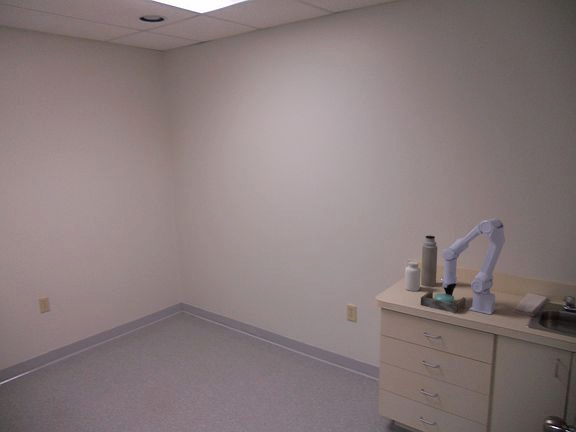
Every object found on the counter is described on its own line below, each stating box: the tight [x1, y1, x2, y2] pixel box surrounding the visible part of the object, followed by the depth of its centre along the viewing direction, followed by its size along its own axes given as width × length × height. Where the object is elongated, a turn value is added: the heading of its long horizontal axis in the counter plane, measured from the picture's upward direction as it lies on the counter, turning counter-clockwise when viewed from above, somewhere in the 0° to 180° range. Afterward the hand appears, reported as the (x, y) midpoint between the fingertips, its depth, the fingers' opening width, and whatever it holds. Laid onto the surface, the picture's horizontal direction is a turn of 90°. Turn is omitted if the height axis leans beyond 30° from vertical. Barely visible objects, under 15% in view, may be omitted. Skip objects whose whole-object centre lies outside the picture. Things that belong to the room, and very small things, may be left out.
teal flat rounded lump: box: [434, 293, 455, 304], centre depth 209 cm, size 9×9×4 cm
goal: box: [420, 290, 467, 314], centre depth 207 cm, size 17×12×4 cm
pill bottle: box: [404, 261, 421, 292], centre depth 231 cm, size 8×8×15 cm
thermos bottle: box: [420, 235, 438, 288], centre depth 237 cm, size 8×8×28 cm
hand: (448, 297), depth 213 cm, fingers closed
